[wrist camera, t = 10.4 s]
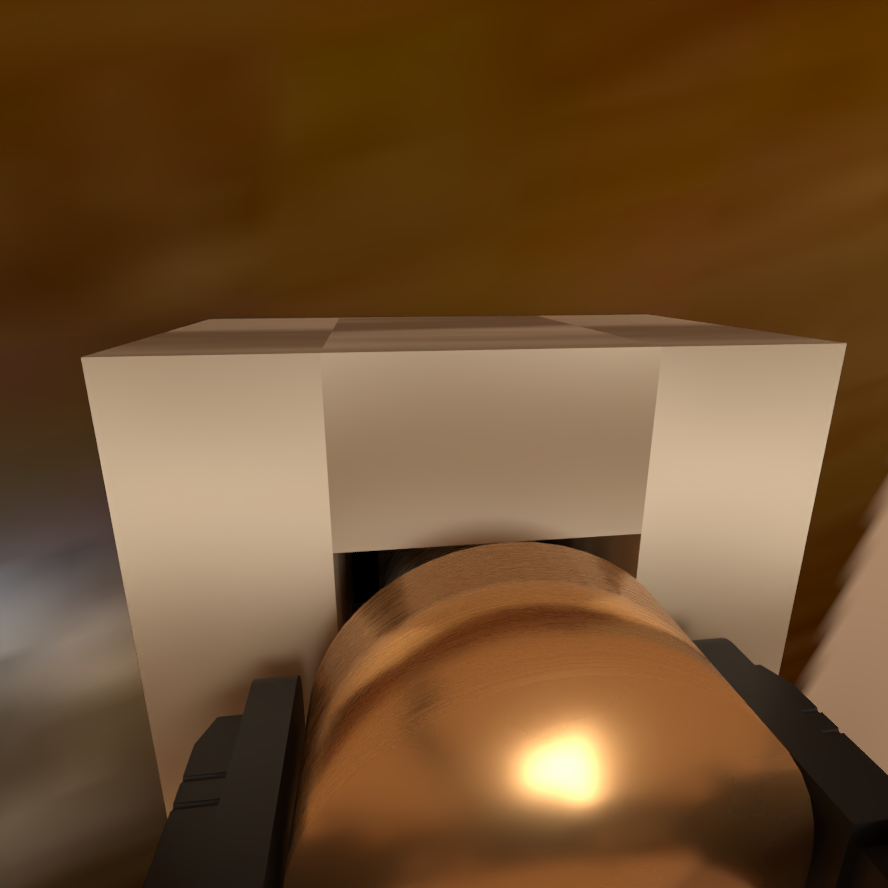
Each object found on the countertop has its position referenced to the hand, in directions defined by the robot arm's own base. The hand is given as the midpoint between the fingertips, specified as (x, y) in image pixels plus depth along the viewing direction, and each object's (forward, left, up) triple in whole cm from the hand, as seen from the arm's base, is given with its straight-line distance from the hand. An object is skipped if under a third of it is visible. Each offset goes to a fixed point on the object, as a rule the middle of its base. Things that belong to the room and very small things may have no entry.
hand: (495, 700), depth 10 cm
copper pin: (0, 0, -6) cm, 6 cm away
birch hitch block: (0, 0, -8) cm, 8 cm away
